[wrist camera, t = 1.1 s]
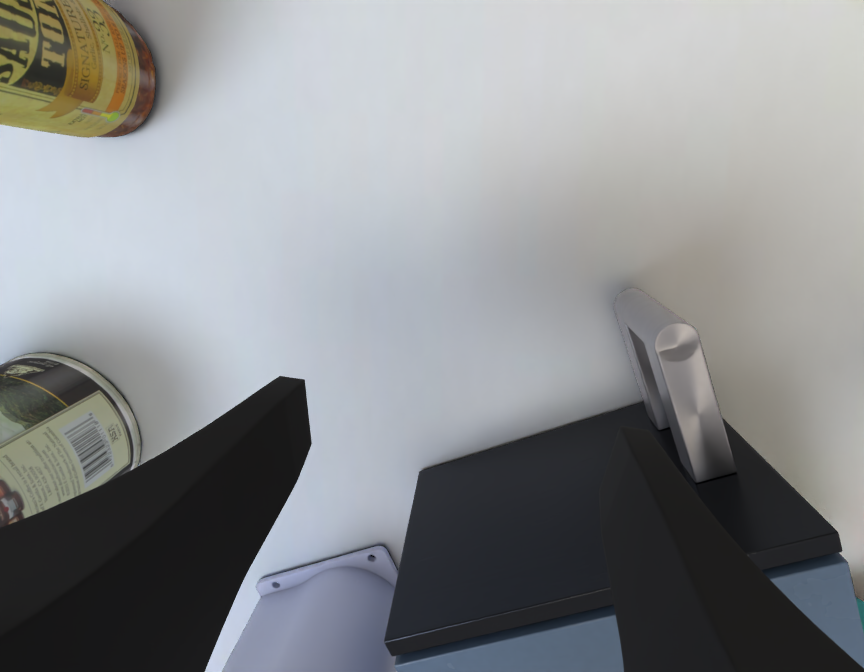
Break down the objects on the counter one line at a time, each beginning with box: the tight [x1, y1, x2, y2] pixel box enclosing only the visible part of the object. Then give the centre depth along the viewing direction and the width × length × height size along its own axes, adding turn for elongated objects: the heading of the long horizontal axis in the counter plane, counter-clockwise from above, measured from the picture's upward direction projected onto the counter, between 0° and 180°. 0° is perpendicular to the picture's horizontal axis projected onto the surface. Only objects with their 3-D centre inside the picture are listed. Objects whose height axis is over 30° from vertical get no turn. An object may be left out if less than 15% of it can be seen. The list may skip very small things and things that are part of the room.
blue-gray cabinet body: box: [394, 553, 864, 672], centre depth 24 cm, size 10×16×12 cm, turn 113°
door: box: [384, 288, 842, 656], centre depth 22 cm, size 8×16×12 cm, turn 113°
